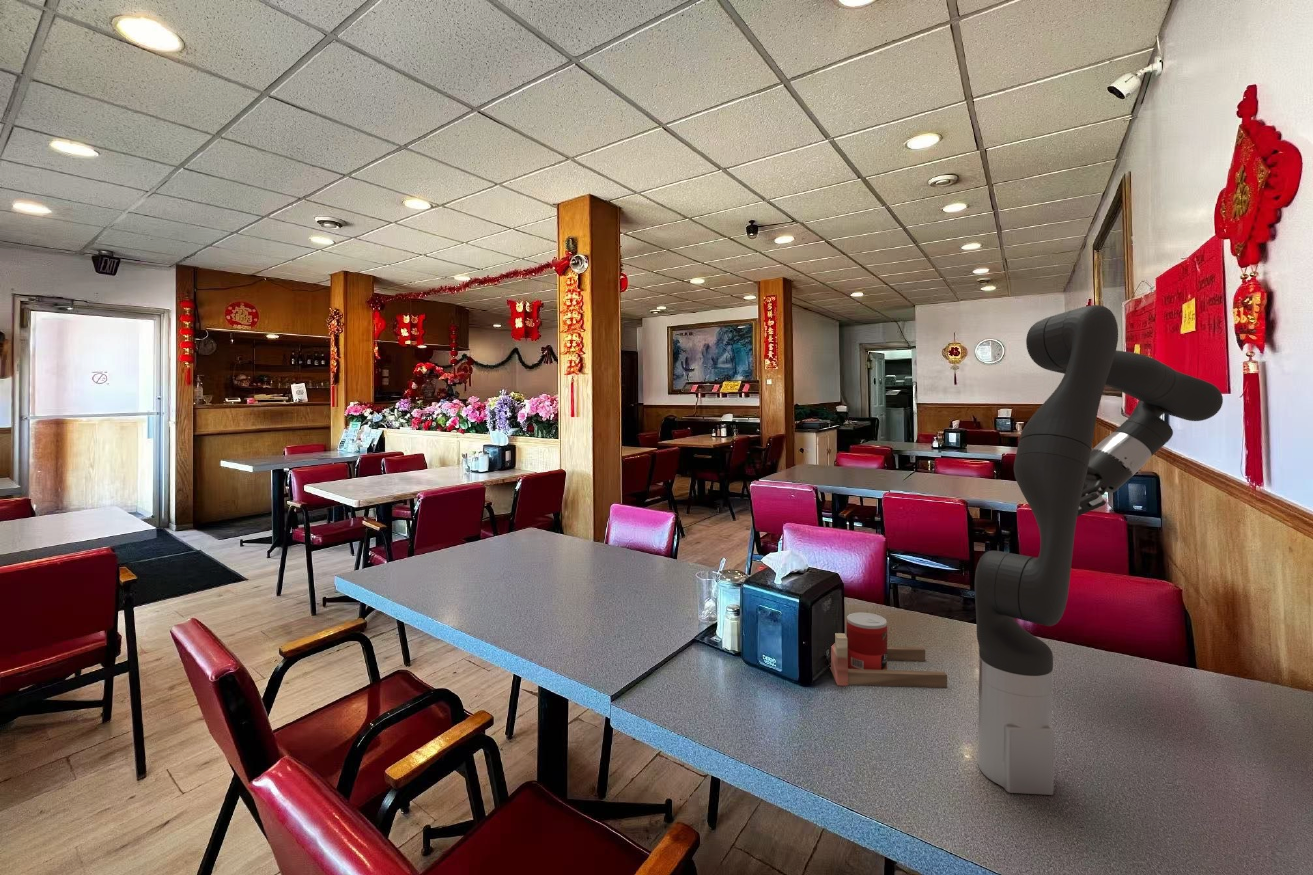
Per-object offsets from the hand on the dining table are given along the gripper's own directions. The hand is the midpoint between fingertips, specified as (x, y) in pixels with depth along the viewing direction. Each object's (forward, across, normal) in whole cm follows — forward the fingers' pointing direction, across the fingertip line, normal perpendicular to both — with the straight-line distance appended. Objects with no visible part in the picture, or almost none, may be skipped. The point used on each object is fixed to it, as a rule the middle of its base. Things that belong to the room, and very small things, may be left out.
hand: (1042, 526), depth 106 cm
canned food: (+44, -7, +1) cm, 45 cm away
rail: (+42, -6, +3) cm, 43 cm away
